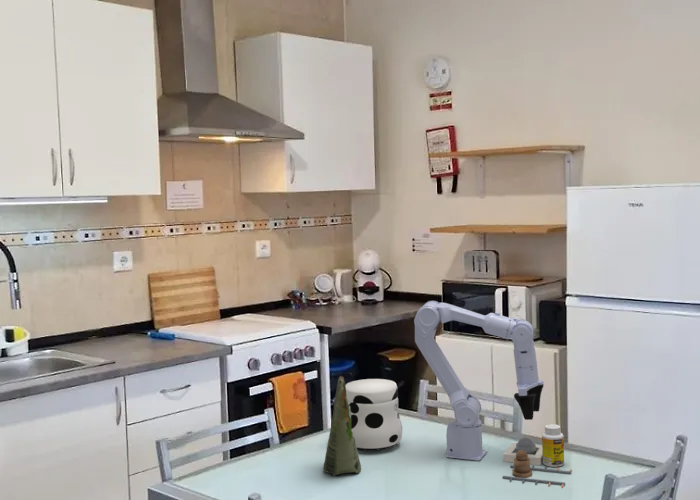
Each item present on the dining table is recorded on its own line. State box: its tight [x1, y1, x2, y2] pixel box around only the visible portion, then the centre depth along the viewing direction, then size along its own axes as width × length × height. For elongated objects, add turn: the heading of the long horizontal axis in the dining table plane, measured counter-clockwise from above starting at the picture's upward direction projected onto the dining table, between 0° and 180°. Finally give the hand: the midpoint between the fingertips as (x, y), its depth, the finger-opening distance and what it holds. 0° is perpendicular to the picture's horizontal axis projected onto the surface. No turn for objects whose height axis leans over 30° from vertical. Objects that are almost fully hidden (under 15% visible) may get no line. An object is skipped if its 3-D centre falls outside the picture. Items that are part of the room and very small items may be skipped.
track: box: [501, 464, 573, 489], centre depth 206 cm, size 16×12×1 cm
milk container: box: [345, 378, 403, 452], centre depth 236 cm, size 17×17×18 cm
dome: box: [516, 437, 537, 455], centre depth 220 cm, size 5×5×5 cm
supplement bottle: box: [541, 423, 565, 468], centre depth 214 cm, size 6×6×10 cm
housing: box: [502, 442, 543, 466], centre depth 220 cm, size 10×10×2 cm
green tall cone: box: [322, 375, 362, 476], centre depth 215 cm, size 11×12×25 cm
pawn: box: [511, 450, 533, 478], centre depth 207 cm, size 5×5×6 cm
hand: (532, 415), depth 218 cm, fingers open, 7 cm apart
